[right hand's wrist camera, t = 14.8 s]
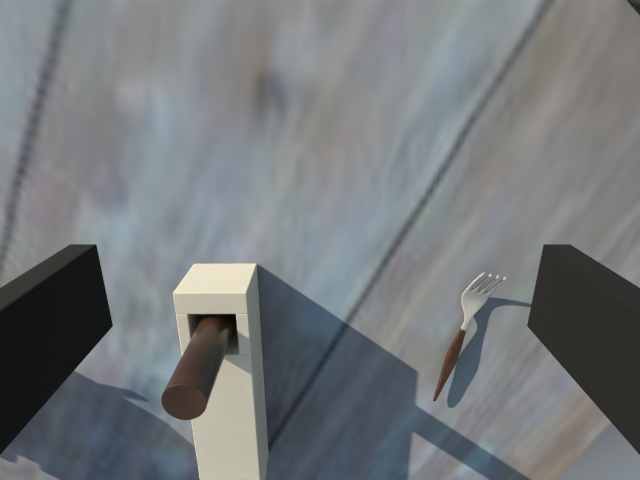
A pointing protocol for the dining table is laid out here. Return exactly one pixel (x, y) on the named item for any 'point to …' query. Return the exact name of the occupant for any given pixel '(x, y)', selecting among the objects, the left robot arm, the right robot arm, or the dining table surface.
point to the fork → (465, 324)
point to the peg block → (228, 372)
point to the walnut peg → (199, 367)
